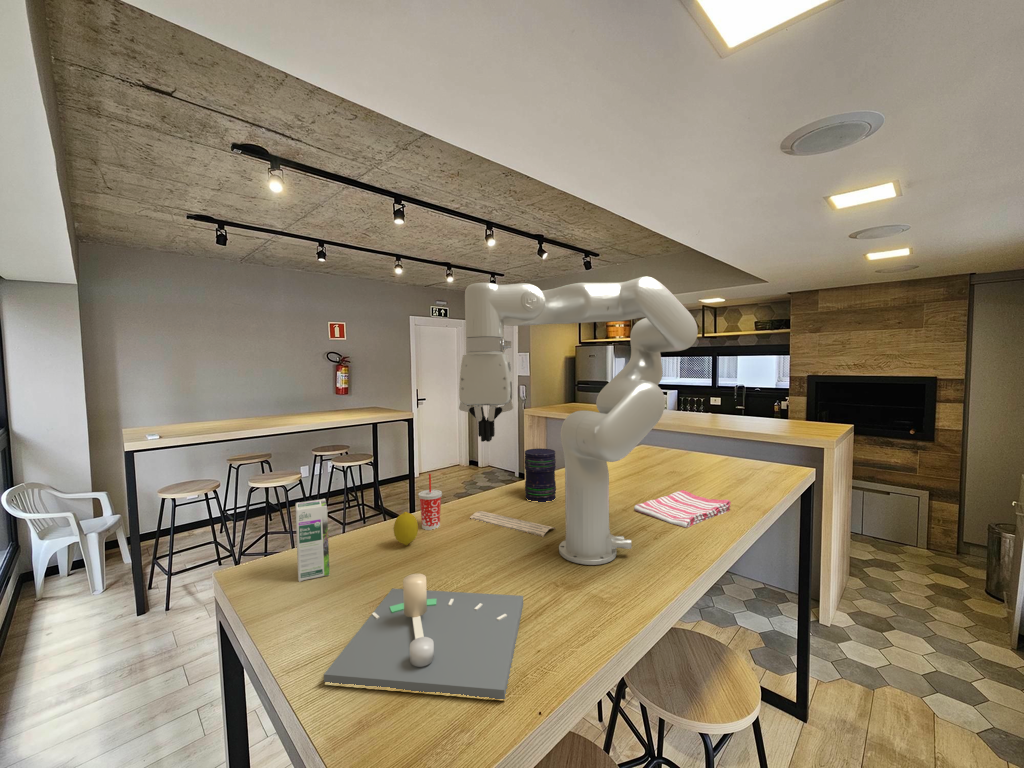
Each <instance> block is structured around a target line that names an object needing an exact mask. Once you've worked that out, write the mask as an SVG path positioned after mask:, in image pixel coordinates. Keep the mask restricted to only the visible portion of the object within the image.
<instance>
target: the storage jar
mask: <svg viewBox="0 0 1024 768" xmlns="http://www.w3.org/2000/svg"><path fill="white" fill-rule="evenodd" d="M556 461H557V459H556V451H555V450H554V449H550V448H531V449H526V450H525V451H524V469H525V481H524V491H525V493H524V494H525V497H526V498H527V499H528V500H531V501H538V502H546V501H552V500H554V499H555V498H556V499H557V497H556V492H557V485H556V478H555V477H556V473H555V472H556V467H557V466H556ZM525 497H524V498H525ZM556 499H555V500H556ZM555 500H554V501H555ZM552 502H553V501H552Z"/></svg>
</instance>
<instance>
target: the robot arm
mask: <svg viewBox="0 0 1024 768" xmlns="http://www.w3.org/2000/svg"><path fill="white" fill-rule="evenodd" d="M464 311H465V312H464V313H465V314H464V316H465V318H464V319H465V324H464V325H465V326H464V327H465V354H463V355H462V357H461V358H462V359H461V364H460V371H459V385H458V388H459V389H458V394H459V395H458V397H459V398H458V399H459V407H458V409H459V410H460V411H462V412H466V413H470V414H471V415H472V417H474V418H475V420H476V421H477V427H478V429H477V431H478V432H477V434H478V437H479V438H480V441H481V442H484V443H485V442H491V441H492V440H493V438H494V437H495V433H496V432H495V420H496V418H498V417H499V416H500V415H501V414H502V413H505V412H510V411H512V410H513V409H514V405H513V379H512V368H511V367H512V366H511V362H510V357H509V354H506V353H505V351H506V350H507V349H511V348H512V341H509V340H506V339H505V330H504V329H505V328H504V327H505V326H506V327H520V326H536V325H537V326H539V325H554V324H559V325H560V324H561V325H565V324H567V325H568V324H581V323H582V324H583V323H596V322H621V321H622V322H623V321H630V320H634V319H635V320H636V319H640V318H641V319H640V320H638V321H636V323H635V324H634V325H632V329H631V330H630V335H629V337H630V338H629V339H630V347H631V348H630V359H629V361H628V362H627V363H626V365H625V366H624V367H623V368H622V369H621V370H620V371H619V372H618V373H617V374H616V375H615V376H614V377H613V378H612V379H611V380H610V381H609V382H608V383H607V384H606V385H605V386H604V387H602V389H601V390H600V392H598V395H597V397H596V401H595V402H596V403H595V406H596V409H597V410H598V411H593V410H577V411H574V412H572V413H570V414H569V415H567V417H566V418H565V419H564V420H563V422H562V425H561V429H560V441H561V448H562V453H563V459H564V475H565V476H564V477H565V479H564V480H565V481H564V482H565V483H564V490H565V491H564V495H565V496H564V497H565V500H564V501H565V505H564V506H565V539H564V540H563V541H561V542H560V543H559V545H558V553H559V555H560V556H561V557H562V558H564V559H565V560H567V561H568V562H572V563H575V564H578V565H579V564H580V565H586V566H587V565H588V566H595V565H596V566H598V565H604V564H607V563H610V562H612V561H613V560H615V558H616V557H617V549H627V550H628V549H629V550H630V549H631V550H632V546H633V545H632V539H630V538H629V539H628V538H627V539H626V538H625V536H624V535H614V534H612V533H611V529H610V474H609V467H608V463H614V462H619V461H621V460H622V459H624V458H626V457H627V456H629V454H631V452H632V451H633V450H634V449H635V448H636V447H637V446H638V445H639V444H640V443H641V442H642V441H643V440H644V439H645V437H646V436H647V435H648V434H649V433H650V432H651V431H652V429H653V428H655V426H656V425H657V424H658V423H659V421H661V418H662V416H663V414H664V411H665V407H666V406H665V405H666V400H665V394H664V392H663V390H662V389H661V387H660V386H659V385H660V383H661V381H662V379H663V364H662V355H661V353H666V352H680V351H685V350H687V349H689V348H691V347H692V346H693V345H694V344H695V342H696V340H697V338H698V324H697V322H696V320H695V318H694V316H693V315H692V314H691V312H690V311H689V310H688V309H687V308H686V307H685V306H684V305H683V304H682V303H681V302H680V300H679V299H678V298H676V296H675V295H674V294H673V293H672V292H671V290H669V289H668V288H667V287H666V286H665V285H664V284H662V283H661V281H659V280H657V279H655V278H654V277H651V276H645V275H644V276H640V277H637V278H634V279H630V280H627V281H626V280H625V281H621V282H577V283H571V284H566V285H562V286H559V287H555V288H551V289H546V290H541V289H540V288H539V287H538V286H536V285H535V284H532V283H526V282H525V283H524V282H520V283H510V284H497V283H493V282H475V283H472V284H469V285H467V287H466V288H465V292H464ZM484 406H489V407H488V412H487V413H488V414H487V418H486V416H485V410H484Z"/></svg>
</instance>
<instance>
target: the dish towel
mask: <svg viewBox="0 0 1024 768" xmlns="http://www.w3.org/2000/svg"><path fill="white" fill-rule="evenodd" d="M731 504H732V503H731V501H730V500H729V499H710V498H706V497H704V496H699V495H695V494H693V493H692V492H689V491H687V490H683V489H681V490H678V491H675V492H673V493H671V494H668V495H664V496H661V497H659V498H658V497H657V498H656V499H651V500H650V499H649V500H647V501H645V502H643V503H636V504H634V507H633V508H634V511H637V512H638V513H641V514H643V515H647V516H650V517H652V518H655V519H657V520H661V521H662V522H663V521H664V522H666V523H668V524H671V525H675V526H679V527H682V528H684V529H687V528H690V527H691V526H693V525H696V524H700V523H702V522H703V521H706V520H708V519H713V518H714V517H716V516H720V515H723V514H726V513H727V512H730V509H731Z"/></svg>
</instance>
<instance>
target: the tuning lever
mask: <svg viewBox="0 0 1024 768" xmlns="http://www.w3.org/2000/svg"><path fill="white" fill-rule="evenodd" d="M402 585H403V586H402V589H403V595H404V614H405V615H406V616H407V617H412V622H413V629H414V636H415V640H413V641H412V642H411V643H410V663H411V664H412V665H414V666H417V667H422V666H426V665H428V664H430V663H431V662H432V661H433V659H434V642H433V640H432V639H431V638H429V637H424V635H423V629H422V623H421V617H420V616H421V615H423V614H425V613H426V611H427V590H428V589H427V576H426V575H425V574H423V573H411V574H409V575H406V576H405V577H403V579H402Z"/></svg>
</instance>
